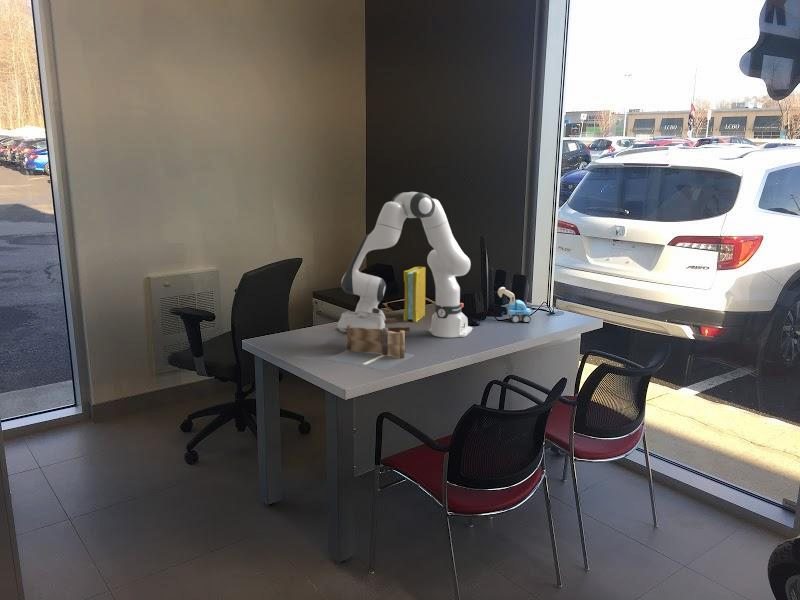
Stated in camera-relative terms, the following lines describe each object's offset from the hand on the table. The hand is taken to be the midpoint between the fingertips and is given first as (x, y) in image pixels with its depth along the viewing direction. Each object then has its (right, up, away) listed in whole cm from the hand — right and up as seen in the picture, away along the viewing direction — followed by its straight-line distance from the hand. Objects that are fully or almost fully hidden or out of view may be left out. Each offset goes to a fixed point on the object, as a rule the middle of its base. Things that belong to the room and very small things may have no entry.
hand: (356, 340), depth 274 cm
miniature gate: (+5, +3, +39) cm, 39 cm away
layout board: (+7, -7, -7) cm, 12 cm away
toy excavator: (+75, +6, +55) cm, 93 cm away
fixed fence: (+16, -6, -6) cm, 18 cm away
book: (+26, +8, +61) cm, 67 cm away
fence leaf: (+4, -4, -1) cm, 6 cm away
